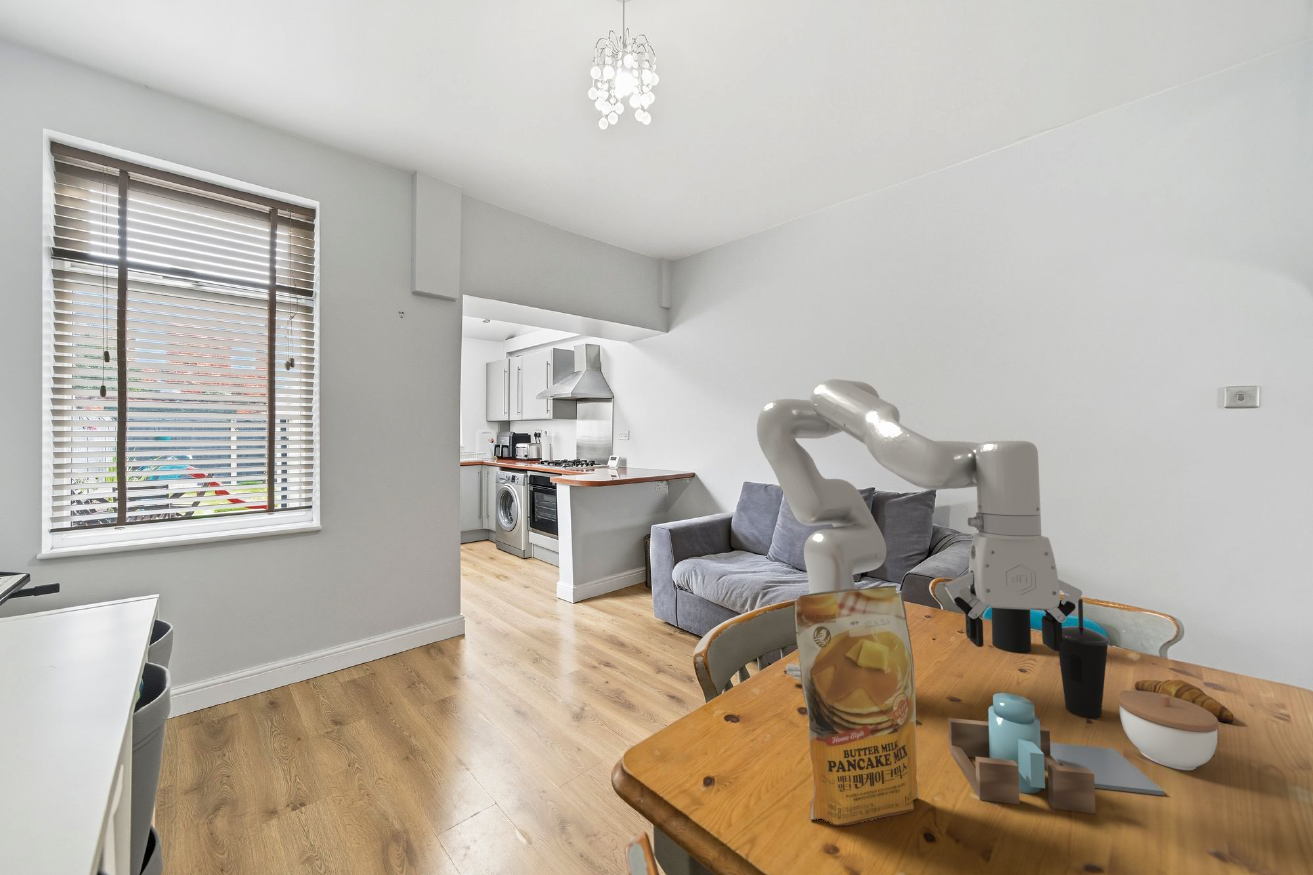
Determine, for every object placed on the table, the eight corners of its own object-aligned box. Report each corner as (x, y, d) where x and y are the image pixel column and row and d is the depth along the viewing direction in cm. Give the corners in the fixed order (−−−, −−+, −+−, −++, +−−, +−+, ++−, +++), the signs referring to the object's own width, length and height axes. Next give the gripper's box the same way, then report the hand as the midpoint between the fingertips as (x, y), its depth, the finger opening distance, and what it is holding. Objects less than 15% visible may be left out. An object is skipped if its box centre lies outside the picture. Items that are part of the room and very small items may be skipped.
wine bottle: (984, 643, 123) (981, 519, 124) (1007, 639, 125) (1005, 517, 126) (1015, 655, 116) (1011, 523, 116) (1039, 650, 118) (1035, 521, 119)
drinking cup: (1123, 725, 86) (1119, 606, 86) (1071, 720, 87) (1068, 604, 88) (1094, 703, 93) (1091, 594, 94) (1047, 699, 95) (1044, 592, 95)
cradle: (980, 799, 68) (979, 761, 68) (948, 750, 79) (948, 717, 79) (1095, 813, 65) (1094, 774, 65) (1046, 760, 76) (1045, 726, 76)
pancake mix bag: (783, 799, 68) (780, 589, 69) (903, 776, 73) (900, 580, 73) (809, 836, 61) (807, 604, 62) (940, 808, 66) (936, 593, 67)
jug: (1012, 806, 67) (1010, 721, 67) (982, 763, 76) (981, 689, 76) (1064, 812, 65) (1062, 726, 66) (1027, 768, 74) (1026, 692, 75)
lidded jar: (1117, 730, 84) (1115, 673, 85) (1211, 754, 78) (1209, 692, 78) (1122, 761, 76) (1120, 698, 76) (1228, 791, 69) (1225, 721, 69)
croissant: (1245, 722, 87) (1243, 693, 87) (1222, 730, 85) (1221, 700, 85) (1146, 688, 100) (1146, 662, 100) (1125, 693, 98) (1124, 667, 98)
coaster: (1079, 786, 70) (1079, 781, 70) (1040, 745, 80) (1040, 741, 80) (1164, 795, 68) (1164, 791, 68) (1113, 752, 78) (1113, 748, 78)
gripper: (953, 528, 71) (957, 651, 71) (1094, 530, 68) (1100, 660, 67) (934, 521, 79) (938, 633, 78) (1061, 523, 75) (1066, 639, 75)
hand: (1013, 645), depth 73 cm, fingers open, 9 cm apart
